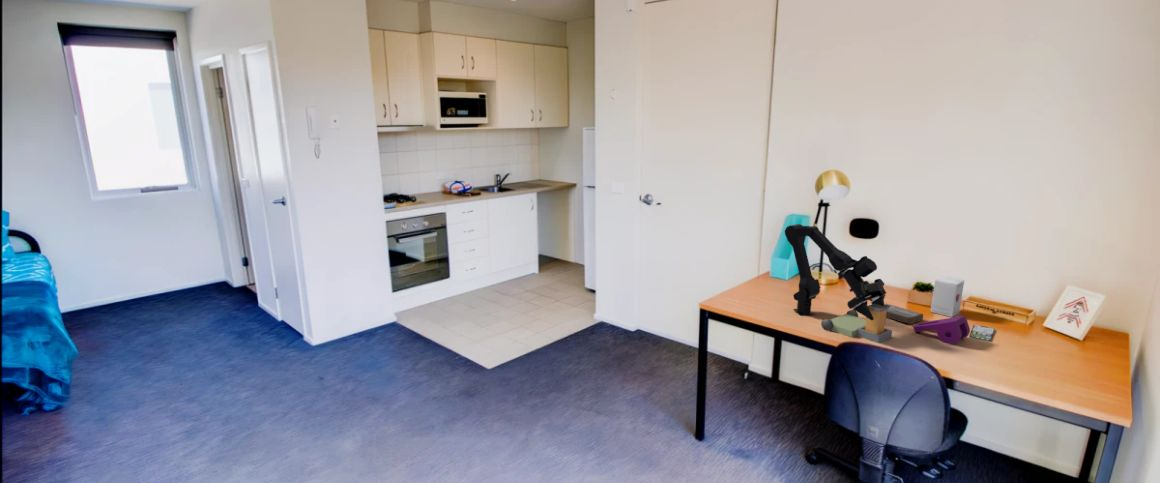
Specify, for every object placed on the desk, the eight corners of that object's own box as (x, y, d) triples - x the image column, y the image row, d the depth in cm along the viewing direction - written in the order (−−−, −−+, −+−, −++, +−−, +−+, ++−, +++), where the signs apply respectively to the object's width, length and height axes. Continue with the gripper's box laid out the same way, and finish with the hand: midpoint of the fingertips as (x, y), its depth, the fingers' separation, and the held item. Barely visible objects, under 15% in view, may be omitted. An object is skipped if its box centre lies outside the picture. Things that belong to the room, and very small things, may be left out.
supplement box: (952, 317, 261) (957, 284, 258) (929, 312, 268) (934, 279, 264) (960, 312, 267) (965, 279, 263) (937, 307, 274) (942, 275, 270)
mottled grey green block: (968, 336, 241) (973, 324, 252) (968, 339, 241) (973, 326, 252) (991, 341, 236) (995, 328, 248) (990, 344, 237) (994, 331, 248)
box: (908, 325, 253) (909, 318, 252) (870, 313, 268) (871, 306, 267) (923, 320, 258) (924, 313, 258) (885, 309, 273) (886, 302, 272)
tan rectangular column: (862, 335, 243) (866, 306, 240) (871, 332, 247) (874, 303, 243) (876, 340, 239) (880, 310, 236) (884, 337, 242) (888, 307, 239)
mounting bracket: (915, 348, 246) (962, 343, 231) (908, 328, 247) (954, 321, 232) (926, 342, 251) (972, 337, 237) (919, 322, 252) (965, 315, 238)
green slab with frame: (820, 328, 251) (821, 318, 250) (848, 318, 262) (849, 308, 261) (871, 346, 234) (872, 335, 233) (898, 334, 244) (899, 324, 243)
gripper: (857, 277, 234) (882, 312, 228) (884, 268, 245) (908, 302, 239) (837, 291, 243) (860, 326, 237) (863, 282, 253) (886, 315, 247)
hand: (879, 317), depth 239 cm, fingers open, 9 cm apart
